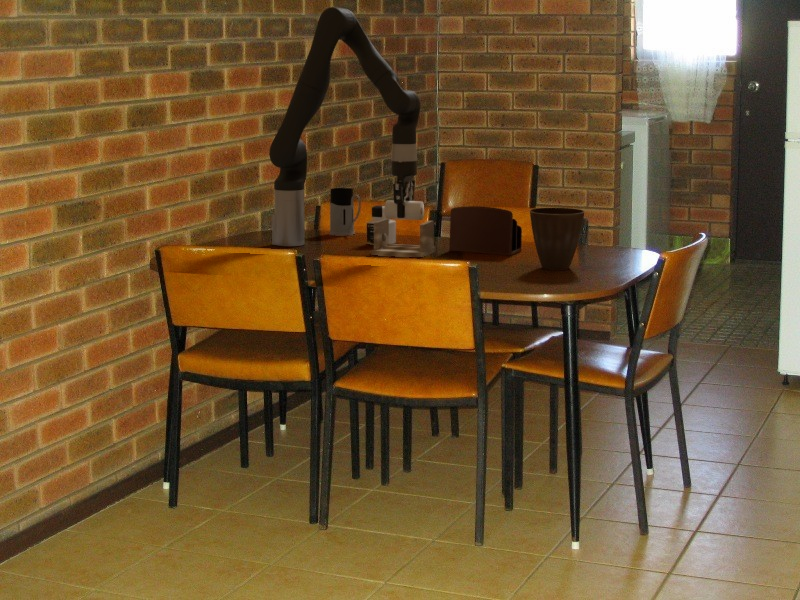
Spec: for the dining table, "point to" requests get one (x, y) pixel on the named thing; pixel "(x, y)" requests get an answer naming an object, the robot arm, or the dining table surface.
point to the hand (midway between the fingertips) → (404, 216)
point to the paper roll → (412, 210)
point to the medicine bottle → (377, 216)
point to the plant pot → (556, 235)
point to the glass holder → (342, 212)
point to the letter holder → (484, 231)
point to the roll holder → (402, 250)
